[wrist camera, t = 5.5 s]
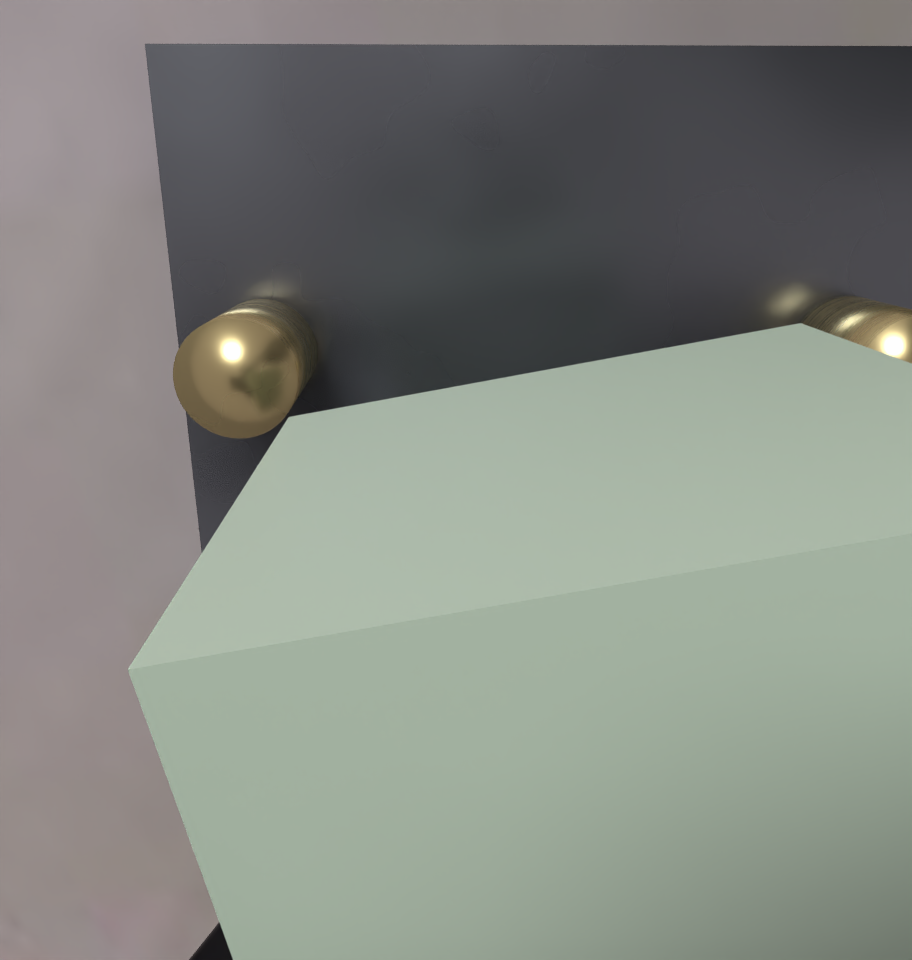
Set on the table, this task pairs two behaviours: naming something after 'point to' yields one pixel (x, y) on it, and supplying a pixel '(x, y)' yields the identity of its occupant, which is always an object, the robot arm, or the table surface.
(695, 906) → the pale green block
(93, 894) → the table surface
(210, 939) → the robot arm
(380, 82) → the chassis
